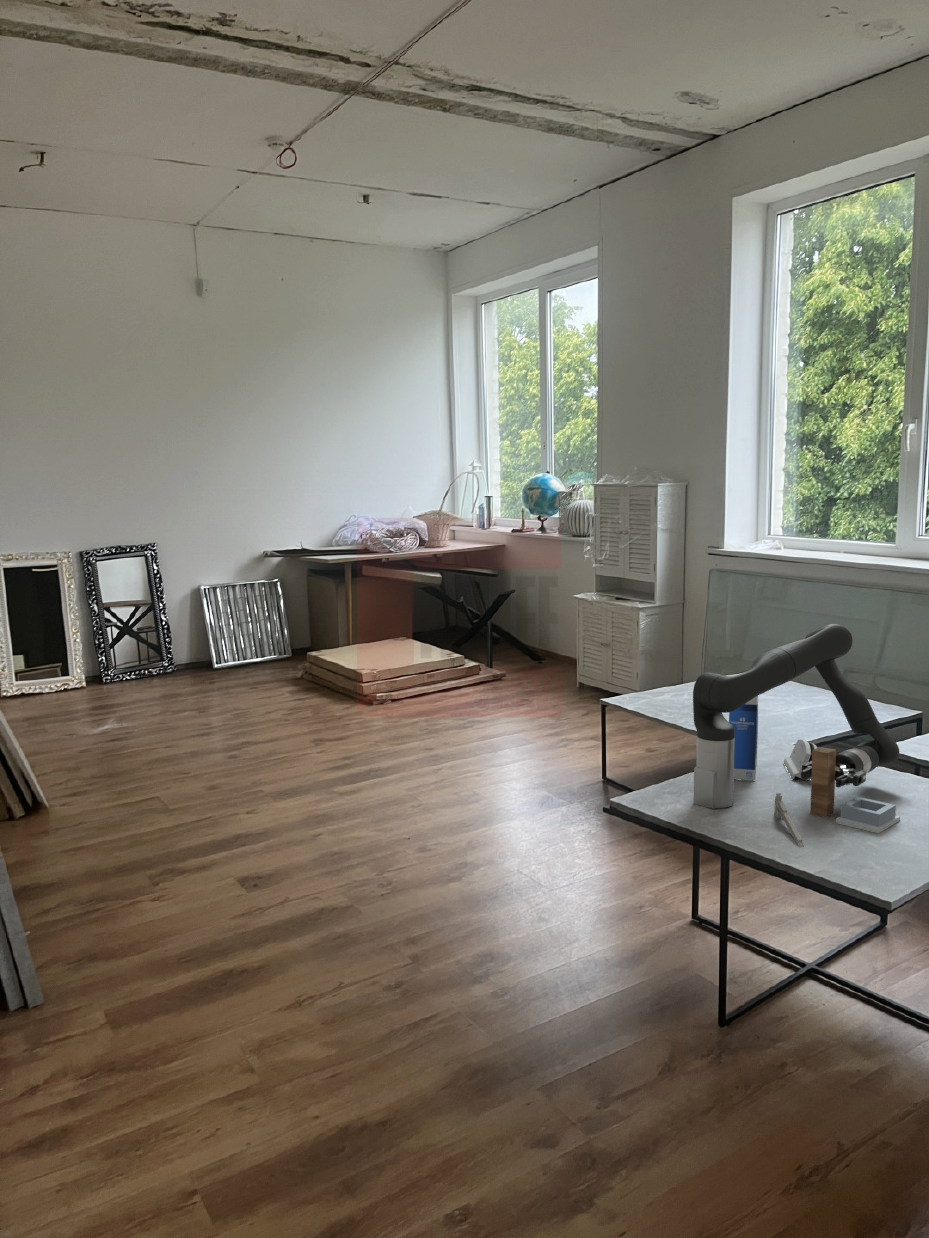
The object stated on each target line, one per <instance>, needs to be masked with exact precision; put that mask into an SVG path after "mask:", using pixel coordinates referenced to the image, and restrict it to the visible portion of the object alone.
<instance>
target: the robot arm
mask: <svg viewBox="0 0 929 1238" xmlns="http://www.w3.org/2000/svg"><path fill="white" fill-rule="evenodd" d="M853 643H854V641H853V635H852V633H851V632H850V630H849V629H848V628H847V627H846V626H843V625H842V624H838V623H831V624H827V625H824V626H823V627H820V628H817V629H815V630H813V631H810V632H809V633H807V635H806V636H805V638H804V639H800V640H796V641H793V642H790V643H786V644H784V645H783V644H782V645H780V646H778V647H775V648H772V649H770V650H768V651H765V652H764V653H761V654H760V655H758V656H757V657H756V658H755V659H754V661H753V662H752V664H751V666H750V669H748V670H747V671H744V672H743V673H739V674H736V675H725V674H719V673H715V672H704V673H701V674H700V675H699V676H697V678H696V680H695V682H694V684H693V691H692V706H693V708H692V710H693V711H692V713H693V724H694V727H695V729H696V755H695V756H696V758H695V759H696V764H695V765H696V766H694V767H693V804H695V803H697V804H696V805H699V806H702V807H705V808H709V809H711V810H713V809H714V810H715V809H724V808H729V807H732V806H733V805H734V792H735V791H734V790H735V789H734V785H735V783H734V782H735V780H734V742H735V738H734V737H735V729H734V727H733V725H732V724H730V723H729V720H727V719H726V717H725V716H724V714H723V713H725V714H726V713H728V714H729V712H732V711H734V710H736V709H738V708H739V707H741V706H742V705H744V704H746V703H747V702H749V701H750V700H752V699H753V698H755V697H756V696H758V697H759V696H760V695H762V694H765V693H766V692H769V691H771V690H773V689H774V688H777V687H779V686H782V685H784V684H786V683H788V682H790V681H792V680H793V679H795V678H797V677H799V676H801V675H803V674H805V673H806V672H807V671H809V670H811V669H812V668H815V669H816V670H817V671H818V673H819V675H820V676H821V678H822V679H823V681H824V682H825V684H826V685H827V687H828V688H829V689H830V691H831V692H832V694H833V695H834V697H835V699H836V700H837V703H838V704H839V706H840V708H841V710H842V712H843V714H844V716H845V719H846V720H847V723H848V725H849V728H850V729H851V732H852V733H853V734H855V735H868V736H870V737H872V738H873V739H871V740H868V741H864V742H862V743H859V744H857V745H856V746H855V747H853V748H849V749H847V750H843V751H842V752H840V753H836V766H835V788H841V787H844V786H850V785H852V786H854V787H859V786H860V785H862V784H864V783H865V782H866V781H867V774H868V773H870V772H873V770H875V769H876V768H878V767H881V766H885V765H889V764H893V763H895V762H896V761H898V759H899V758H900V753H901V751H900V748H899V745H898V743H897V742H896V740H895V739H894V738H893V737H892V736H891V734H890V733H889V732H888V731H887V729H886V728H884V726H883V725H882V724H881V723H880V721H879V719H878V718H877V716H876V713H875V712H874V710H873V708H872V706H871V703H870V701H869V699H868V698H867V696H865V694H864V693H863V692H862V690H861V689H859V688H858V687H857V686H856V685H854V684H853V683H852V682H851V681H850V680H849V679H848V678H847V677H846V676H845V675H844V674H843V673H842V671H841V670H840V669H839V667H838V665H837V663H836V659H837V660H838V659H839V658H842V657H844V656H845V655H847V654H848V653H849V651H851V649H852V646H853ZM801 777H802V780H804V781H807V780H806V779H808V778H811V777H812V761H810V762H808V763H805V764H802V771H801Z"/></svg>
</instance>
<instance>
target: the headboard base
mask: <svg viewBox="0 0 929 1238" xmlns="http://www.w3.org/2000/svg"><path fill="white" fill-rule="evenodd" d="M840 807H841V808H840V816H838V817H837V818H835V823H836V824H839V825H844V826H847V827H851V828H856V829H860V830H863V831H867V832H871V833H875V834H881V832H883V831H885V830H886V829H888V828H890V827H892V826H893V825H894V824H896V823H898V822H899V821H901V816H899V815H896V811H897V805H896V804H892V803H889V802H888V803H887V802H883V801H879V800H874V799H871V798H866V797H862V796H856V797H854V798H852V799H851V800H849V801H847V802H845V803H843V804H841V806H840Z"/></svg>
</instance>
